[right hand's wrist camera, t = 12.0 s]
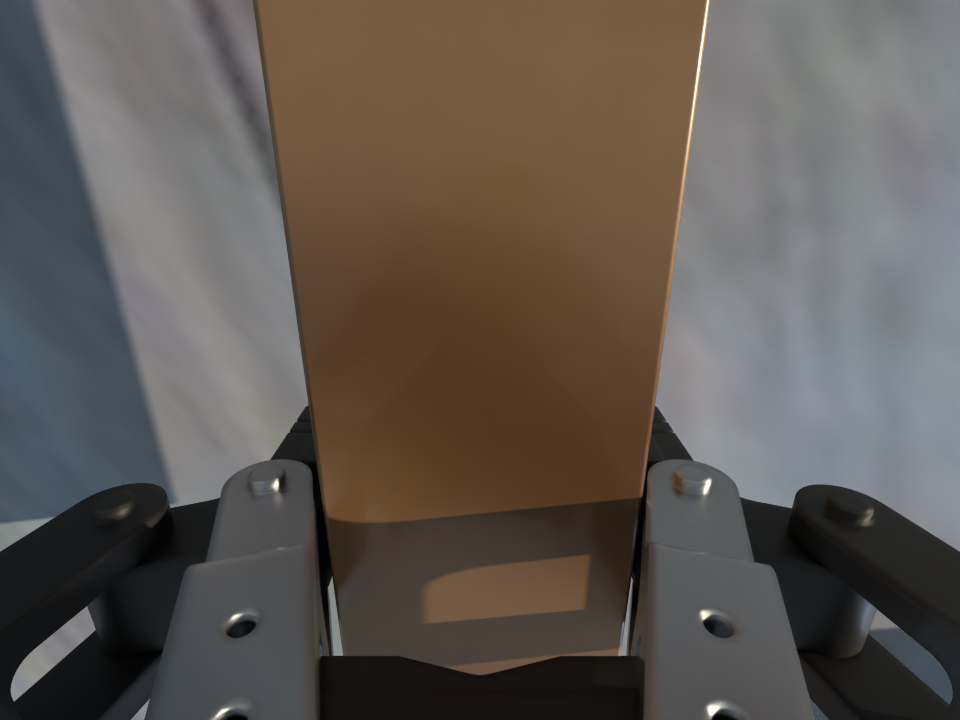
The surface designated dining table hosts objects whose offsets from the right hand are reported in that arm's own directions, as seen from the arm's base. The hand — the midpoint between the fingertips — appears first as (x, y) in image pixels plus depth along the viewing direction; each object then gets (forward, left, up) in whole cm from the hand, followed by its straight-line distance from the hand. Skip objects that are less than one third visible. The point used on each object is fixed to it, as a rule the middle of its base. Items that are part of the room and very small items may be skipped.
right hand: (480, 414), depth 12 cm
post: (+22, +10, -3) cm, 25 cm away
